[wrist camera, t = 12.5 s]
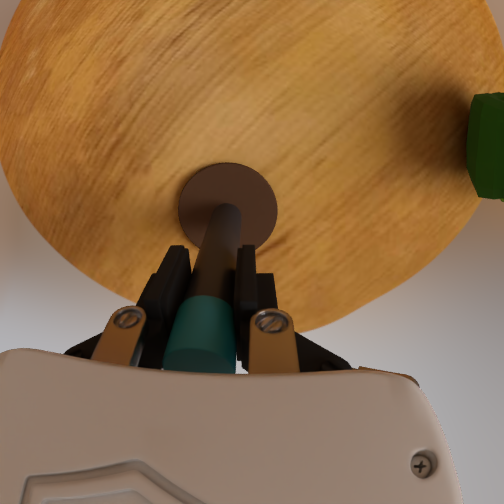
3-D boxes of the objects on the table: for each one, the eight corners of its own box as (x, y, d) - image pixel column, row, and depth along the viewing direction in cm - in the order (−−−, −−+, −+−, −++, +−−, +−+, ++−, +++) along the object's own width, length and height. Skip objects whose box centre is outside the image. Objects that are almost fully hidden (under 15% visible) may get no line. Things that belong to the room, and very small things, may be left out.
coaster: (184, 254, 21) (183, 257, 21) (175, 165, 18) (173, 166, 17) (275, 253, 21) (276, 256, 21) (278, 162, 18) (278, 163, 17)
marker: (211, 232, 19) (170, 389, 8) (209, 201, 18) (154, 345, 7) (243, 231, 19) (236, 392, 8) (242, 201, 18) (233, 349, 7)
